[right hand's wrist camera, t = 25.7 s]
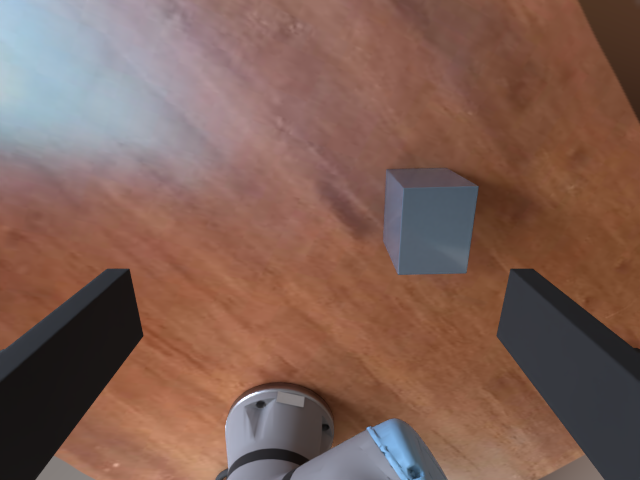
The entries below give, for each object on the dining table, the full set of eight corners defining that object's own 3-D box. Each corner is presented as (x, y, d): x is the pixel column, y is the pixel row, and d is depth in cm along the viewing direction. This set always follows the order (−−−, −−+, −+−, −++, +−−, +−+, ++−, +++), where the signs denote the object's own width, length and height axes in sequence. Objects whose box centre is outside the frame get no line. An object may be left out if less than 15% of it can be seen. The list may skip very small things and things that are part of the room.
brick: (386, 169, 39) (403, 188, 31) (446, 167, 39) (479, 186, 31) (383, 241, 42) (397, 275, 34) (438, 240, 42) (466, 273, 34)
